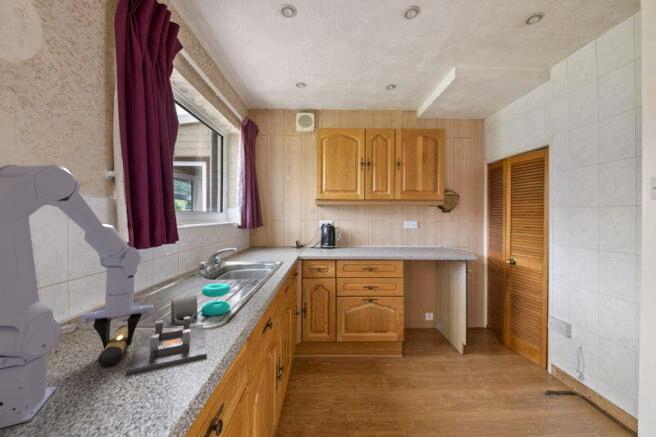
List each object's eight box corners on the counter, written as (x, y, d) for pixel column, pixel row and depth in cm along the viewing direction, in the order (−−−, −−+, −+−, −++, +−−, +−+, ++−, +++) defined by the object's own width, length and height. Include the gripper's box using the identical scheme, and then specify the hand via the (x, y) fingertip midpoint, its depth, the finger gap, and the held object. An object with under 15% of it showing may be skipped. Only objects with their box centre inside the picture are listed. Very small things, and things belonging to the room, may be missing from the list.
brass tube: (121, 364, 59) (121, 346, 59) (97, 369, 57) (98, 350, 57) (133, 338, 73) (134, 323, 73) (115, 341, 71) (115, 326, 71)
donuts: (228, 288, 92) (198, 289, 90) (227, 315, 92) (197, 317, 90) (232, 282, 102) (205, 283, 100) (231, 307, 101) (205, 308, 99)
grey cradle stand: (206, 357, 63) (207, 335, 63) (125, 375, 55) (126, 349, 55) (202, 327, 81) (203, 310, 81) (141, 337, 74) (142, 318, 74)
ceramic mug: (171, 316, 90) (171, 295, 90) (196, 312, 94) (197, 292, 95) (170, 327, 81) (170, 303, 81) (198, 322, 85) (199, 300, 85)
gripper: (155, 286, 72) (154, 333, 72) (88, 292, 65) (86, 344, 65) (152, 292, 66) (150, 344, 66) (77, 299, 59) (75, 357, 59)
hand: (118, 345), depth 65 cm, fingers closed on brass tube, 4 cm apart
